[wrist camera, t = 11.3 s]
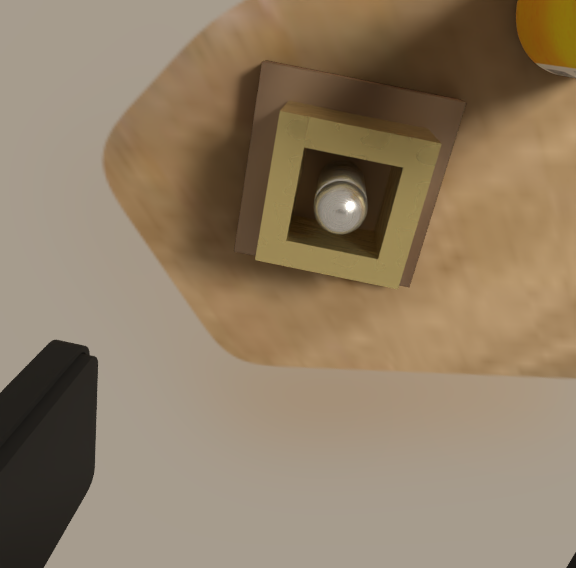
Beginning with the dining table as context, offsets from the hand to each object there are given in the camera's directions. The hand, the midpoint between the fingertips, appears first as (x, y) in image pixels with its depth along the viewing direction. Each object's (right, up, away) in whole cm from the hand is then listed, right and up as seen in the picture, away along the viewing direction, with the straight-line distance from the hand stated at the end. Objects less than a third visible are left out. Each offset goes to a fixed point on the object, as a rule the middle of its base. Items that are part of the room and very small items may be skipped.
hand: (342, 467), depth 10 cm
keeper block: (+2, +9, +20) cm, 22 cm away
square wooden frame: (+2, +8, +18) cm, 20 cm away
